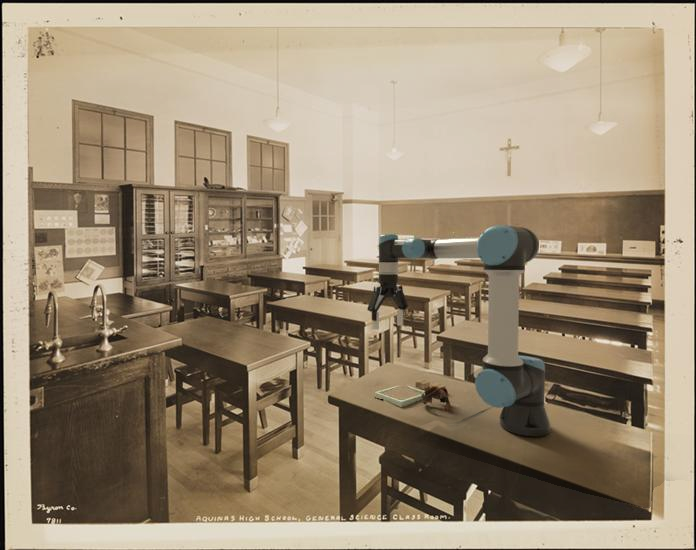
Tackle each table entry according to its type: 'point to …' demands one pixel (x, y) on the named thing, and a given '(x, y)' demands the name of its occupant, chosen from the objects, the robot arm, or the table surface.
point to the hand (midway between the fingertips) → (388, 327)
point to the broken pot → (436, 396)
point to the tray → (395, 401)
